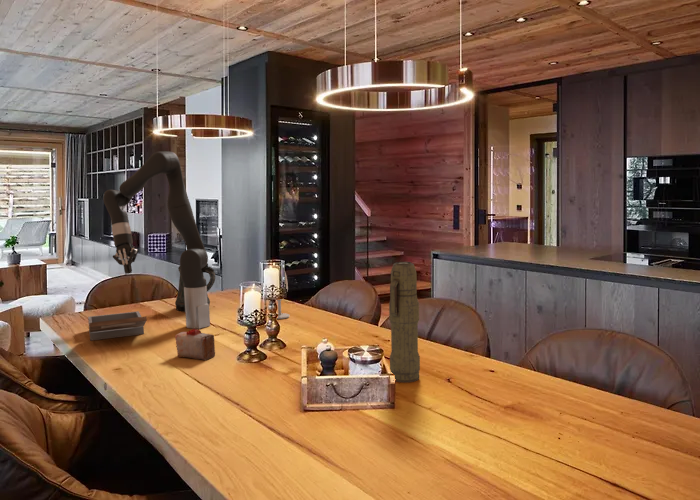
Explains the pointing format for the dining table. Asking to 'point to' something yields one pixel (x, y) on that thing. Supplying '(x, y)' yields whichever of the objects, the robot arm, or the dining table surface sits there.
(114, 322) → the panel
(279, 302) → the wineglass
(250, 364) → the dining table surface
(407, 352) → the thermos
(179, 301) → the beer stein
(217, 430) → the dining table surface
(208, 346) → the food item
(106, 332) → the tray
